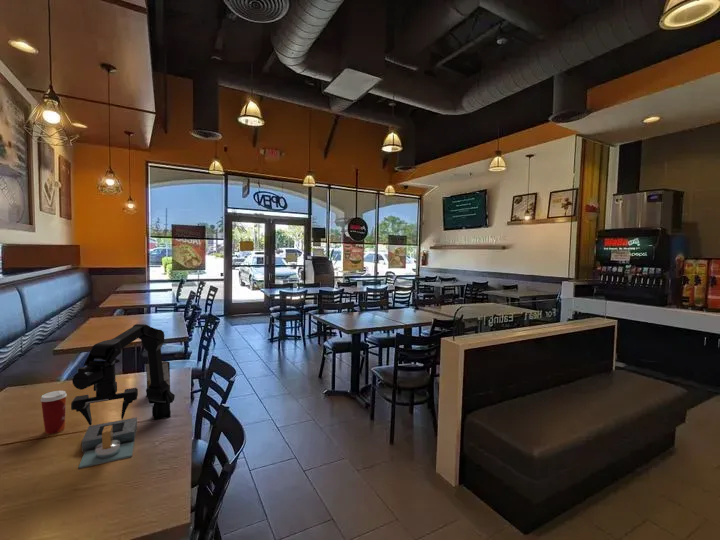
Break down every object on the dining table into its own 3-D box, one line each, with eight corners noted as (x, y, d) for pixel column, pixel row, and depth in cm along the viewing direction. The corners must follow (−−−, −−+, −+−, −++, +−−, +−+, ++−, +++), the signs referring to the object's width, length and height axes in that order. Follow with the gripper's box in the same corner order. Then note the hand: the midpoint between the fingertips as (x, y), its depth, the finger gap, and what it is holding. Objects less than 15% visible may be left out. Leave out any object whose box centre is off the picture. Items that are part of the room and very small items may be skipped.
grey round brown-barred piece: (121, 445, 132) (120, 422, 132) (118, 455, 126) (118, 431, 125) (97, 450, 129) (96, 426, 128) (93, 461, 123) (92, 435, 122)
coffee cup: (72, 428, 146) (71, 392, 145) (48, 437, 139) (46, 399, 138) (61, 423, 150) (59, 388, 149) (36, 432, 142) (35, 395, 141)
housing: (137, 426, 148) (136, 417, 147) (134, 441, 136) (134, 431, 136) (89, 435, 140) (88, 426, 140) (82, 452, 129) (81, 441, 128)
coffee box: (170, 392, 183) (170, 361, 182) (160, 397, 177) (159, 365, 176) (157, 390, 186) (156, 359, 185) (146, 394, 180) (145, 363, 179)
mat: (134, 443, 135) (134, 441, 135) (131, 456, 127) (131, 455, 126) (84, 453, 128) (84, 451, 128) (78, 468, 119) (78, 466, 119)
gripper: (138, 368, 137) (139, 407, 138) (77, 375, 128) (78, 418, 129) (136, 377, 127) (137, 420, 128) (70, 386, 119) (71, 431, 119)
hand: (106, 421), depth 127 cm, fingers open, 9 cm apart
